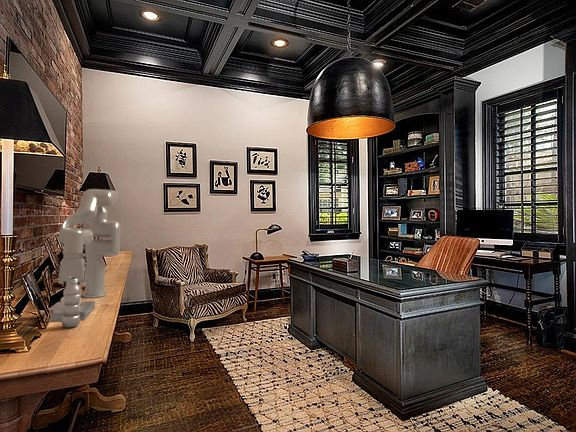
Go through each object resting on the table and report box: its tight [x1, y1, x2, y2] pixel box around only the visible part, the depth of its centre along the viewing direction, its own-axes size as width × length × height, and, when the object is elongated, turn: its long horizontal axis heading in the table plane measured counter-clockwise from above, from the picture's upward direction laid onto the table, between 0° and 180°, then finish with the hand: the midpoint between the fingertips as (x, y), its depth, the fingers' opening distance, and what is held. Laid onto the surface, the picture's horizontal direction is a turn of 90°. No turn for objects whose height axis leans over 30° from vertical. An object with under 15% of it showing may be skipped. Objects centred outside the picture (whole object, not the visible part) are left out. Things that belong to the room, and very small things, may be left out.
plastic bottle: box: [60, 278, 83, 328], centre depth 147 cm, size 6×7×20 cm
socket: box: [48, 300, 96, 322], centre depth 164 cm, size 20×16×4 cm
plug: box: [60, 296, 82, 310], centre depth 165 cm, size 11×6×8 cm, turn 17°
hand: (71, 296), depth 164 cm, fingers closed
